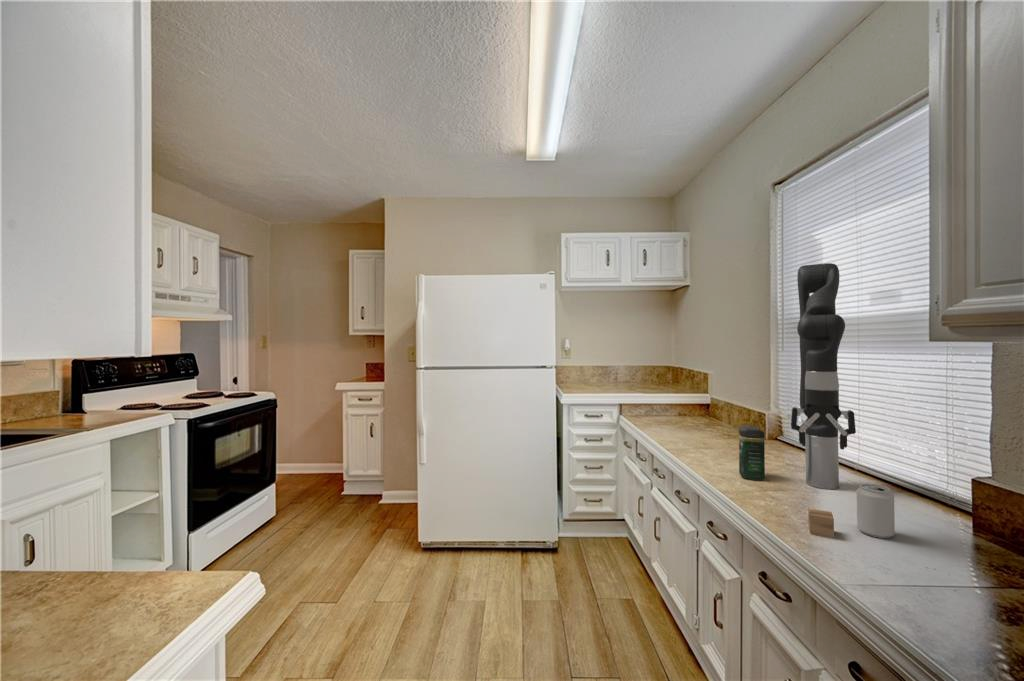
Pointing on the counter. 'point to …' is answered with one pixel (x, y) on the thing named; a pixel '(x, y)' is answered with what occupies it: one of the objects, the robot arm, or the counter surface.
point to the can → (875, 510)
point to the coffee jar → (751, 452)
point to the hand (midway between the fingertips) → (822, 447)
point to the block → (821, 522)
